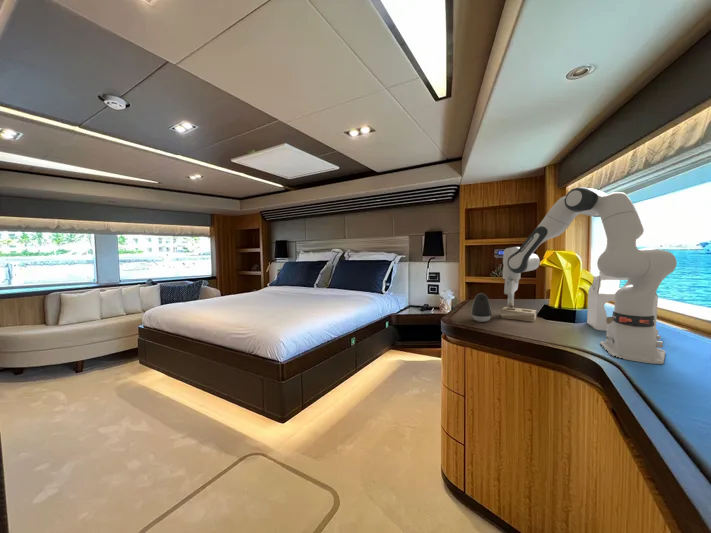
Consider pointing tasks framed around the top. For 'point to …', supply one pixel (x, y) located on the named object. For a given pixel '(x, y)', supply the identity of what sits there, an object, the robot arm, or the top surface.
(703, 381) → the top surface
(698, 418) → the top surface
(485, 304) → the dark grey egg speaker
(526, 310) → the hole block
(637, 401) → the top surface
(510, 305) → the peg
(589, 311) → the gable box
